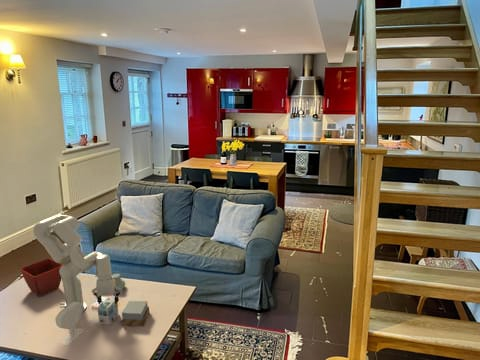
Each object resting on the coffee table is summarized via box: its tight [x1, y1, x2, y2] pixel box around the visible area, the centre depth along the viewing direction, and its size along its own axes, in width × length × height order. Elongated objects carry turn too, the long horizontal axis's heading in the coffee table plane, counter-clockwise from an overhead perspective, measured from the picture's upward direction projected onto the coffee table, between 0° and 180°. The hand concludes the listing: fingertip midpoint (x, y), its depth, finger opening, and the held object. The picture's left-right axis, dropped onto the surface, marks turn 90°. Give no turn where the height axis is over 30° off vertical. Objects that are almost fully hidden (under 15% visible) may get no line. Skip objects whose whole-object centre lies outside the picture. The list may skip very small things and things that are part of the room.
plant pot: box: [20, 257, 63, 297], centre depth 239 cm, size 19×19×17 cm
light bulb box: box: [97, 296, 119, 326], centre depth 209 cm, size 11×7×11 cm, turn 168°
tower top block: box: [121, 300, 149, 320], centre depth 209 cm, size 11×12×4 cm
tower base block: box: [121, 306, 150, 328], centre depth 210 cm, size 12×13×4 cm
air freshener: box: [112, 273, 126, 292], centre depth 241 cm, size 11×8×10 cm
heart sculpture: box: [55, 302, 84, 346], centre depth 194 cm, size 16×5×18 cm, turn 163°
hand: (108, 302), depth 208 cm, fingers open, 9 cm apart
